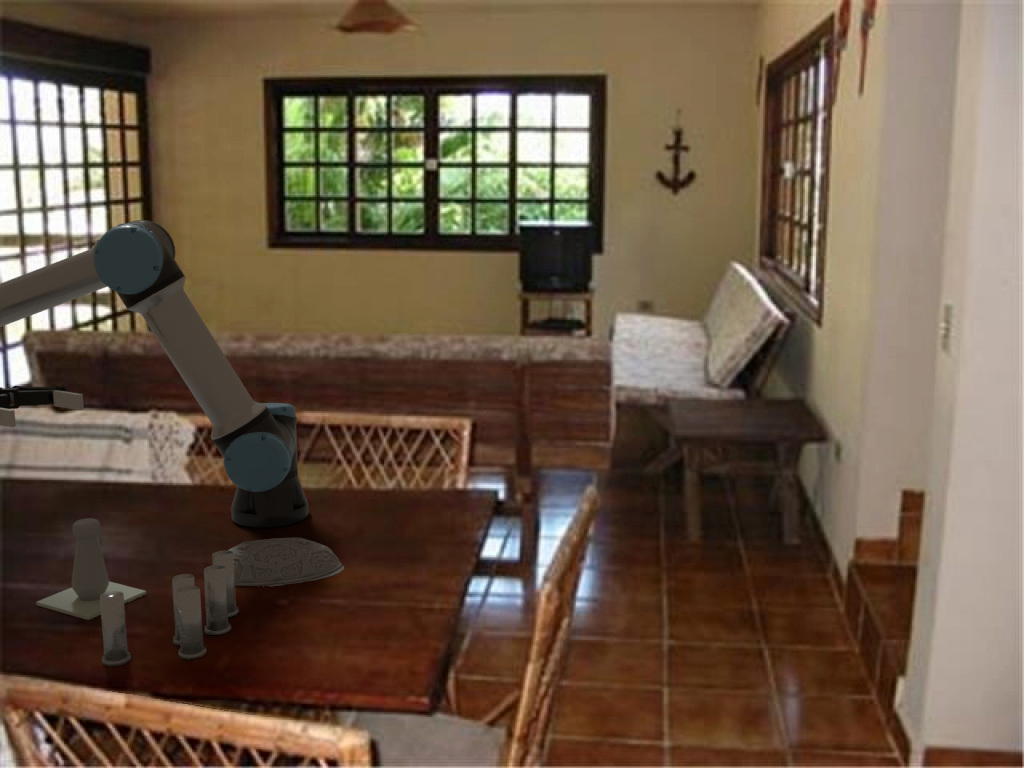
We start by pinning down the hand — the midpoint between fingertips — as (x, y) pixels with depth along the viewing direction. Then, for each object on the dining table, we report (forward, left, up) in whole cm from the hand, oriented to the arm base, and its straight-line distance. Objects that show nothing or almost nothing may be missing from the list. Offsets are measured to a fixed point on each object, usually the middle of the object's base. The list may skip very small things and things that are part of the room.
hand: (48, 410), depth 190 cm
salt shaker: (-4, +10, -30) cm, 32 cm away
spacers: (-16, +31, -30) cm, 46 cm away
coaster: (-4, +10, -30) cm, 32 cm away
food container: (-35, +7, -31) cm, 47 cm away
